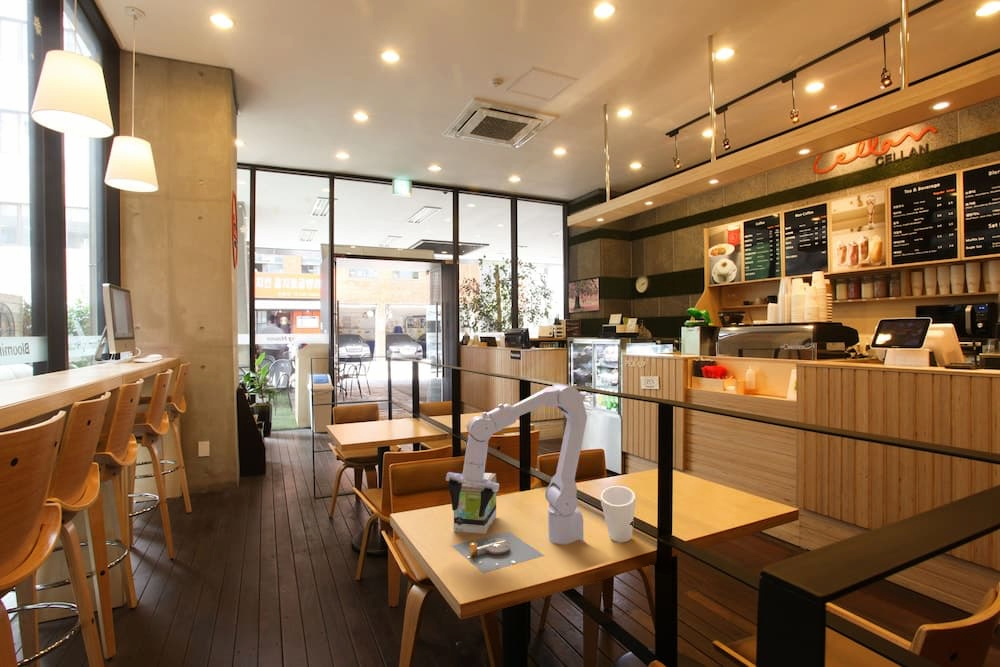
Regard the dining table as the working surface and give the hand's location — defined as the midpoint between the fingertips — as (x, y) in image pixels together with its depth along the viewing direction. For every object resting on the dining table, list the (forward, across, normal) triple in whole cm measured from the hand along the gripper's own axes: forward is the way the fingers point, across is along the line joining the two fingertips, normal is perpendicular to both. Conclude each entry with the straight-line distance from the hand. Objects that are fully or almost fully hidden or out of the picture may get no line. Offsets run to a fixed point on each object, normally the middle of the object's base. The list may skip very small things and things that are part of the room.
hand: (467, 512), depth 137 cm
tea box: (+10, -4, +19) cm, 22 cm away
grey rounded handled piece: (+9, +7, +1) cm, 11 cm away
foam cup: (+3, +38, +23) cm, 45 cm away
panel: (+10, +9, +3) cm, 14 cm away
